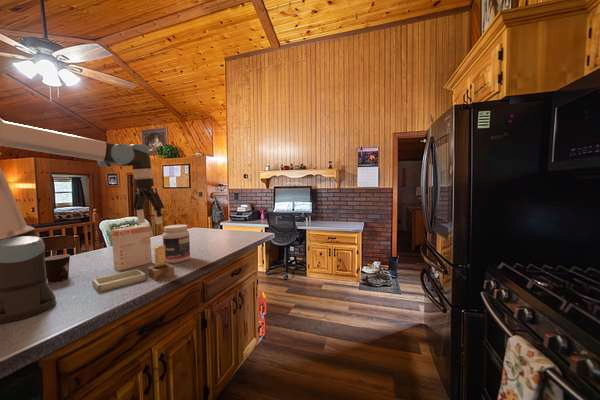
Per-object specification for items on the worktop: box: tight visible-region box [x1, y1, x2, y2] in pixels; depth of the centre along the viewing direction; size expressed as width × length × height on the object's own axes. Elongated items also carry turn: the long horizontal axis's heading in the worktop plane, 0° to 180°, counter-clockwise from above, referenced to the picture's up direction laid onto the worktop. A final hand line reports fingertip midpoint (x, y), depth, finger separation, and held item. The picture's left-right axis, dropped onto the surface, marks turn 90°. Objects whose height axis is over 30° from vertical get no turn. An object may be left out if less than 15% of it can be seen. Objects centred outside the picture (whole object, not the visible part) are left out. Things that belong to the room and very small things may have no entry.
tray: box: [91, 268, 147, 293], centre depth 104 cm, size 16×11×2 cm
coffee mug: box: [45, 254, 71, 284], centre depth 110 cm, size 12×9×10 cm
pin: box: [153, 245, 167, 269], centre depth 110 cm, size 4×4×13 cm
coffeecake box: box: [111, 224, 153, 271], centre depth 126 cm, size 15×7×20 cm, turn 144°
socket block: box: [147, 262, 175, 281], centre depth 111 cm, size 8×8×4 cm
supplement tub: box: [162, 224, 191, 264], centre depth 134 cm, size 13×13×18 cm
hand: (150, 223), depth 118 cm, fingers open, 13 cm apart
